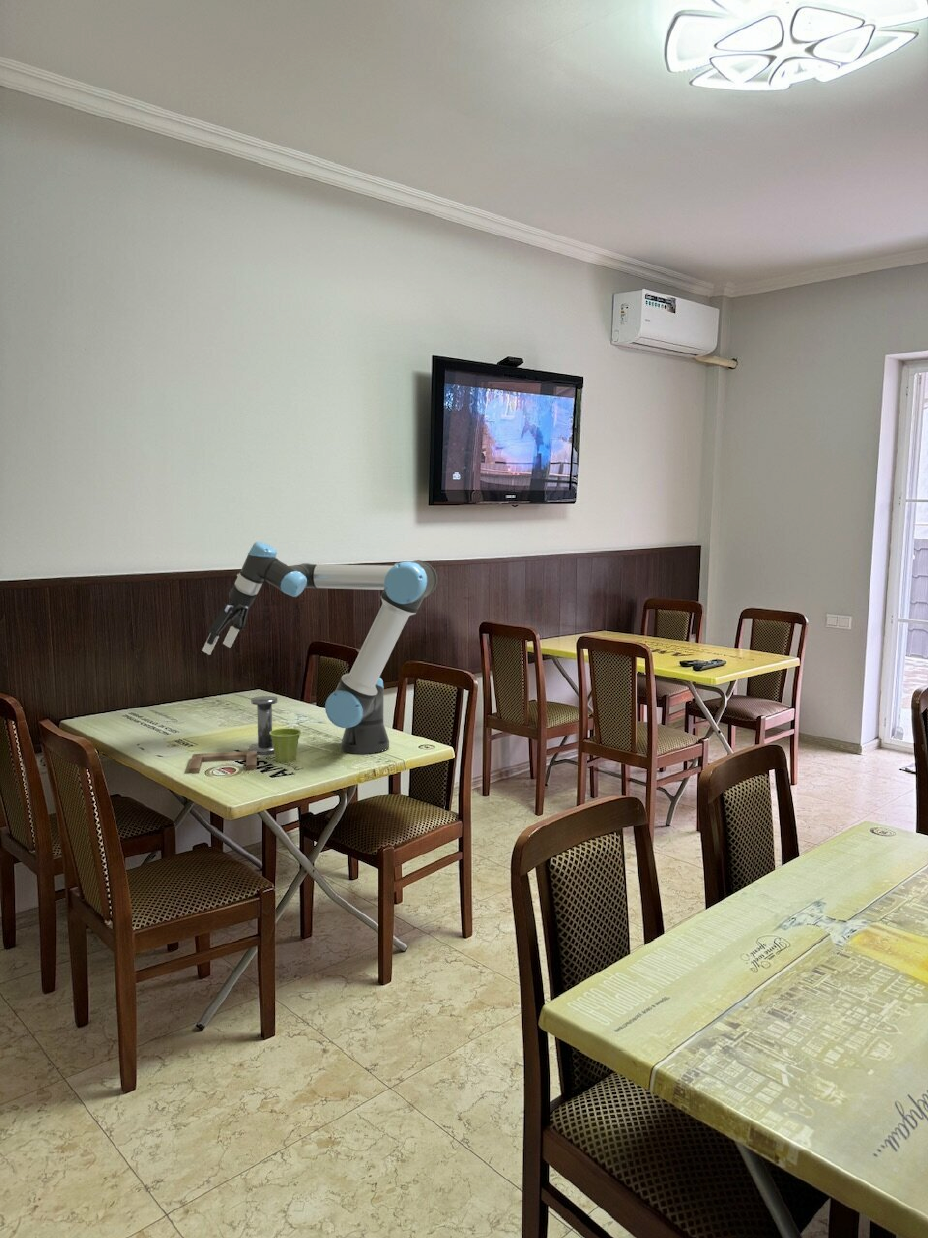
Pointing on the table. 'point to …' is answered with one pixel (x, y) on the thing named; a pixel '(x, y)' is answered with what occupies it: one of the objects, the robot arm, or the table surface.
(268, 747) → the spool
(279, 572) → the robot arm
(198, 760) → the notched board
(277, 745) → the plant pot
